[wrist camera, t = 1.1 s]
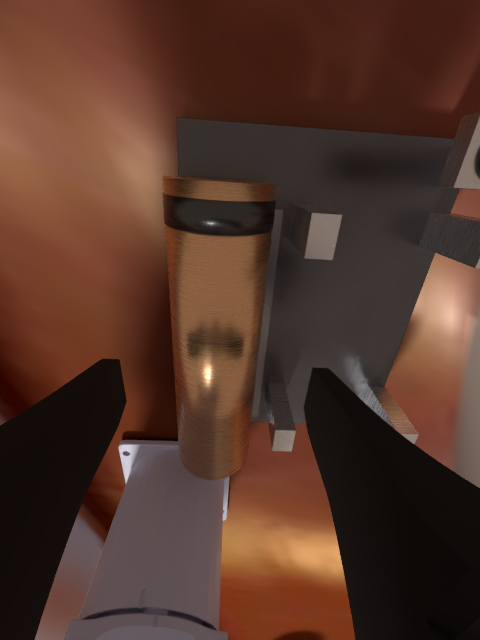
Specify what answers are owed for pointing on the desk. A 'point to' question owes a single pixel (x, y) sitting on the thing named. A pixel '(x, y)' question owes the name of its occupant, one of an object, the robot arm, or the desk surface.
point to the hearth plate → (350, 251)
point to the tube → (216, 313)
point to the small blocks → (319, 243)
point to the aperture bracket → (464, 156)
